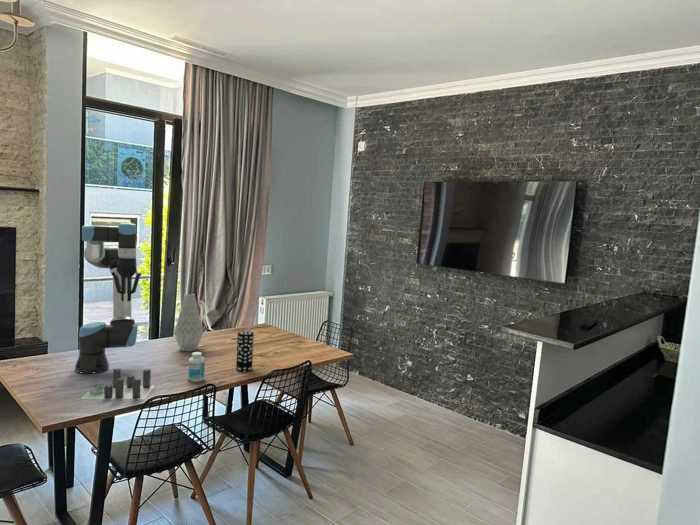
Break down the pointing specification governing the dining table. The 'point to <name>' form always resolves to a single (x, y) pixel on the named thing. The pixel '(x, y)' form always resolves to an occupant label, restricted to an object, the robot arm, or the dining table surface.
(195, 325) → the vase
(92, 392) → the nut
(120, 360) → the dining table surface
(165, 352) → the dining table surface
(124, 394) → the board
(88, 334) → the robot arm
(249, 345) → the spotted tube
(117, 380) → the spacers
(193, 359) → the pill bottle
